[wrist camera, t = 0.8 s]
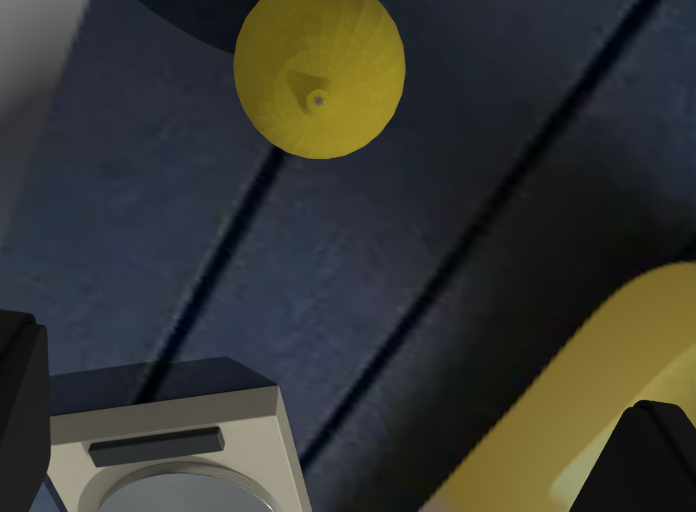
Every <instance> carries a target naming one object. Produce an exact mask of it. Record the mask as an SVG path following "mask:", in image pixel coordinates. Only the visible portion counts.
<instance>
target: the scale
mask: <svg viewBox="0 0 696 512" xmlns="http://www.w3.org/2000/svg"><path fill="white" fill-rule="evenodd" d="M50 433H51V457H50V463H49V467H48V470H47V474H48V475H49V477H50V479H51V481H52V483H53V485H54V487H55V488H56V490H57V492H58V494H59V496H60V498H61V499H62V501H63V503H64V505H65V507H66V509H67V511H68V512H312V510H311V506H310V502H309V498H308V494H307V491H306V487H305V483H304V479H303V475H302V472H301V468H300V464H299V460H298V456H297V453H296V449H295V445H294V441H293V437H292V434H291V430H290V426H289V422H288V418H287V415H286V411H285V407H284V403H283V399H282V396H281V392H280V388H279V386H278V385H276V386H269V387H262V388H254V389H247V390H240V391H233V392H225V393H218V394H211V395H203V396H196V397H189V398H182V399H174V400H167V401H160V402H152V403H145V404H138V405H131V406H123V407H116V408H109V409H102V410H94V411H87V412H80V413H72V414H65V415H58V416H51V417H50Z"/></svg>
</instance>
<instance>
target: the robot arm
mask: <svg viewBox="0 0 696 512" xmlns="http://www.w3.org/2000/svg"><path fill="white" fill-rule="evenodd" d="M50 457H51V433H50V401H49V370H48V338H47V329H46V326H44V325H38V324H36V320H35V317H34V315H32V314H30V313H23V312H16V311H9V310H2V309H0V512H29V510H30V508H31V505H32V503H33V501H34V499H35V497H36V495H37V493H38V491H39V489H40V487H41V484H42V482H43V480H44V478H45V476H46V473H47V470H48V467H49V463H50ZM569 512H696V429H695V427H694V426H693V424H692V423H691V421H690V420H689V419H688V417H687V416H686V414H685V413H684V411H683V410H682V409H681V408H680V407H679V406H677V405H675V404H670V403H663V402H656V401H649V400H640V401H638V402H637V403H635V405H634V406H633V407H629V408H627V409H626V410H625V411H624V412H623V414H622V416H621V418H620V419H619V421H618V423H617V425H616V427H615V429H614V430H613V432H612V434H611V436H610V438H609V439H608V441H607V443H606V445H605V447H604V449H603V450H602V452H601V454H600V456H599V458H598V459H597V461H596V463H595V465H594V467H593V469H592V470H591V472H590V474H589V476H588V478H587V480H586V481H585V483H584V485H583V487H582V489H581V490H580V492H579V494H578V496H577V498H576V500H575V501H574V503H573V505H572V507H571V509H570V511H569Z"/></svg>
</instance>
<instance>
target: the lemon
mask: <svg viewBox="0 0 696 512" xmlns="http://www.w3.org/2000/svg"><path fill="white" fill-rule="evenodd" d="M233 65H234V76H235V86H236V90H237V93H238V95H239V98H240V101H241V104H242V106H243V109H244V111H245V113H246V114H247V116H248V117H249V119H250V120H251V122H252V123H253V125H254V126H255V128H256V129H257V130H258V131H259V132H260V133H261V134H262V135H264V136H265V137H266V138H267V139H268V140H269V141H270V142H271V143H272V144H274V145H276V146H277V147H279V148H281V149H283V150H285V151H287V152H288V153H291V154H295V155H298V156H302V157H305V158H315V159H329V158H334V157H339V156H344V155H347V154H349V153H351V152H353V151H355V150H357V149H360V148H362V147H364V146H365V145H366V144H367V143H368V142H370V141H371V140H372V139H373V138H375V137H376V136H377V135H378V134H379V133H380V132H381V131H382V130H383V128H384V127H385V126H386V124H387V123H388V122H389V120H390V119H391V118H392V116H393V114H394V112H395V109H396V107H397V105H398V102H399V100H400V97H401V95H402V90H403V84H404V77H405V59H404V48H403V44H402V41H401V38H400V36H399V33H398V30H397V27H396V25H395V23H394V21H393V20H392V18H391V17H390V15H389V14H388V12H387V11H386V9H385V8H384V7H383V5H382V4H381V3H380V2H379V1H378V0H259V2H258V3H257V4H256V5H255V7H254V8H253V9H252V10H251V12H250V13H249V14H248V16H247V17H246V19H245V21H244V24H243V26H242V28H241V31H240V33H239V35H238V38H237V42H236V49H235V55H234V62H233Z"/></svg>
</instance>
